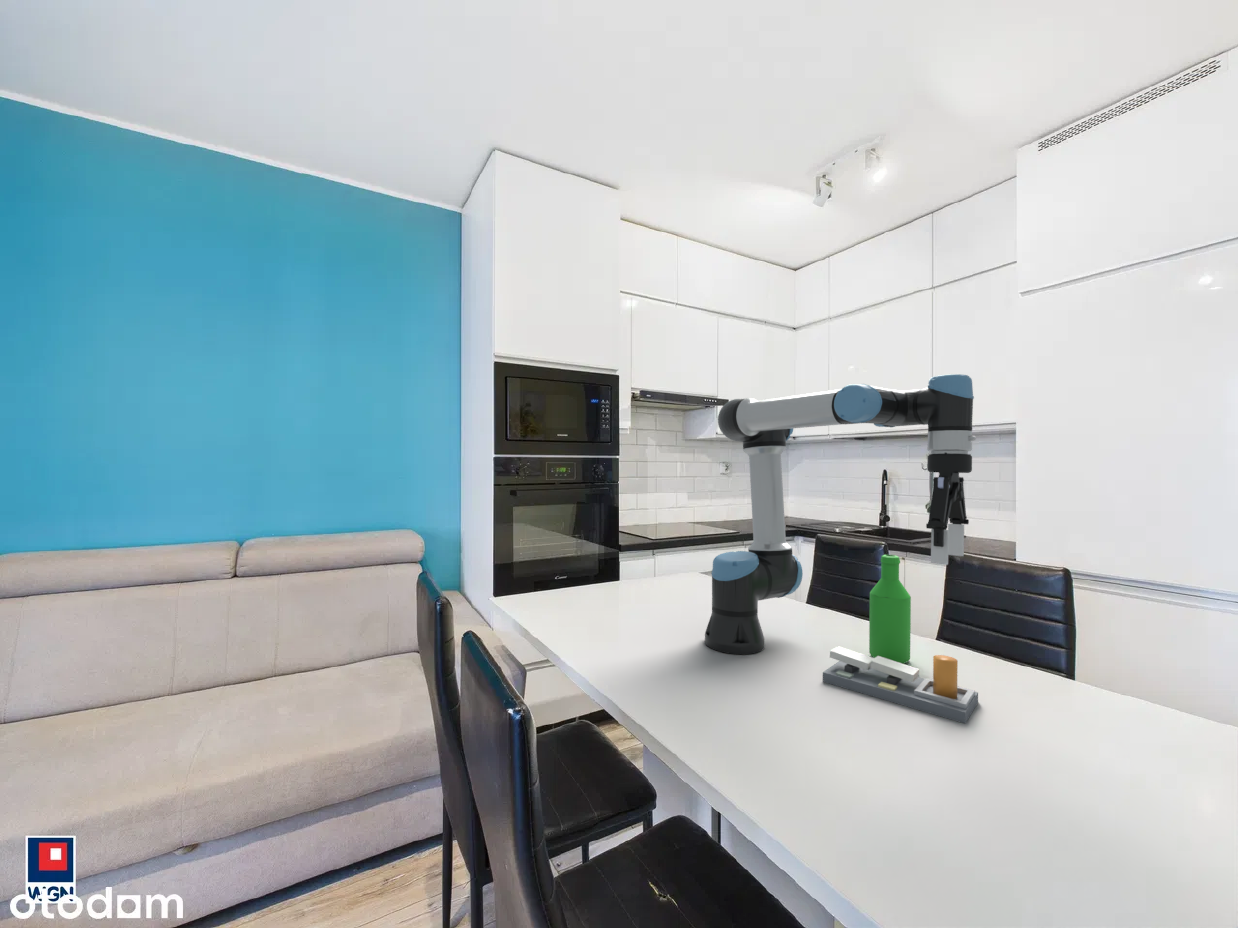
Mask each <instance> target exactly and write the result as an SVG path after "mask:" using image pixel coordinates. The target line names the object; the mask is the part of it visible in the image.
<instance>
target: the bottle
mask: <svg viewBox="0 0 1238 928" xmlns="http://www.w3.org/2000/svg"><path fill="white" fill-rule="evenodd" d="M880 563H881V565H880V566H881V567H880V568H881V570H880V572H881V575H880V579H879V580H878V582H877V583H876V584H875V585H874V587H872V589H871V590H870V591H869V619H868V620H869V625H868V627H869V629H868V630H869V631H868V635H869V636H868V637H869V639H868V641H869V642H868V643H869V645H868V646H869V647H868V648H869V650H868V651H869V654H870V656H871V657H873V658H875V657H877V656H881V657H884V658H887V659H890V660H893V661H896V662H899V663H902V664H905V663H907V662H909V661H910V659H911V632H912V631H911V626H912V625H911V624H912V623H911V619H912V617H911V615H912V613H911V612H912V610H911V607H912V606H911V605H912V603H911V601H912V597H911V594H909V592H908V591H907V589H906V588H905V586H904V584H902V582H901V580H900V564H901V559H900V556H898V555H895V554H883V555H881V558H880Z"/></svg>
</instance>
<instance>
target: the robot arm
mask: <svg viewBox="0 0 1238 928" xmlns="http://www.w3.org/2000/svg"><path fill="white" fill-rule="evenodd" d="M973 388H974V387H973V378H972V377H970V376H969V375H968V374H958V373H954V374H953V373H951V374H950V373H949V374H940V375H935V376H931V377H930V378H929V379H928V383H927V387H925V388H920V389H909V390H899V389H898V390H897V389H891V388H885V387H884V388H883V387H879V386H875V385H869V384H865V383H857V384H855V383H853V384H852V383H851V384H847V385H845V386H844V387H842V388H839V389H834V390H827V391H819V392H812V393H811V392H810V393H806V394H797V395H789V396H783V397H777V398H776V397H775V398H768V399H761V400H757V399H755V398H753V397H745V398H734V399H731V400H729V401H727V402H726V403H725V404H724V405H723V406H722V407H721V409H720V410H719V412H718V415H717V416H718V417H717V423H718V428H719V430H720V432H721V433H722V434H723V436H725V438H727V439H729V440H731V441H733V442H740V443H742V450H743V452H744V453H745V454H747V456H748V461H749V462H748V463H749V479H750V494H751V495H750V499H751V515H752V519H751V520H752V532H753V533H752V537H753V538H752V539H753V542H752V543H751V544H750V546H749V547H748V550H747V551H745V550H744V551H743V550H738V551H726V552H723V553H720V554H718V555H716V556H715V557H714V558H713V560H712V569H711V615H710V617H709V620H708V623H707V626H706V629H705V632H704V644H705V645H706V646H707V647H708V648H709V649H712V650H714V651H718V652H721V653H726V654H734V655H748V654H749V655H751V654H755V653H760V652H761V651H764V649H765V636H764V632H763V629H762V626H761V623H760V620H759V614H758V613H759V610H758V607H759V605H758V602H759V601H764V600H770V599H773V598H775V599H776V598H779V599H780V598H783V597H786V596H789V595H791V594H794V593H795V592H796V591H797V590H798V589H799V588H800V586H801V583H802V580H803V567H802V566H803V565H802V564H801V562H800V561H799V559H798V557H797V556H796V555H794V554H793V547H792V546H791V545H790V544H789V543H788V542H787V539H786V523H785V504H784V503H785V502H784V488H783V487H784V486H783V471H782V470H783V469H782V453H783V452H784V451H785V450H786V449H787V442H788V440H790V438H791V435H792V434H793V432H794V429H801V428H804V429H805V428H813V427H814V428H815V427H826V426H827V427H828V426H838V425H839V426H840V425H855V424H873V425H874V426H875V427H879V428H883V427H885V428H896V427H907V426H919V425H923V426H925V425H927V449H926V450H927V451H928V452H930V454H928V455H927V463H926V465H927V468H926V469H927V471H928V472H929V473H938V476H934V477H933V479H932V481H933V484H932V497H931V502H930V509H929V516H928V521H927V523H926V525H925V527H926V529H931V532H930V533H931V535H930V539H931V540H930V563H932V564H938V565H945V566H948V565H949V556H954V557H955V556H957V557H965V556H964V555H965V554H964V553H965V552H964V551H965V549H964V548H965V547H964V546H965V525H969V522H970V519H968V518H967V511H966V499H965V498H966V497H965V490H964V489H965V488H964V481H965V479H964V477H963V476H960V475H959V474H970V473H971V472H973V456H972V455H971V454H970V453H969V452H971V451H973V450H972V449H973V441H976V439H977V437H976V435H973V412H974V411H973V409H974V399H975V397H974V391H973V390H974V389H973Z"/></svg>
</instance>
